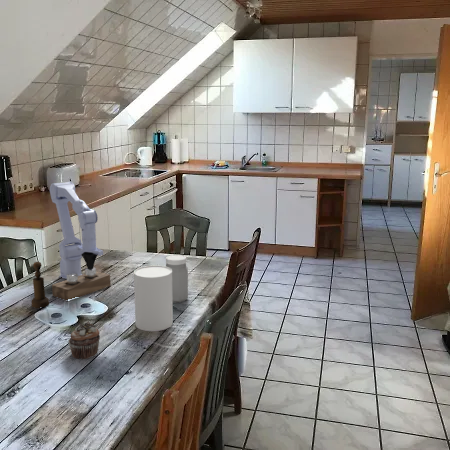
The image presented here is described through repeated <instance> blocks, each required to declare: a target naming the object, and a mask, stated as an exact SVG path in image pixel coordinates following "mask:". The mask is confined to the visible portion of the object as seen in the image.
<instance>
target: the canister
mask: <svg viewBox="0 0 450 450" xmlns="http://www.w3.org/2000/svg"><path fill="white" fill-rule="evenodd" d="M133 286H134V287H133V288H134V315H135V318H134V319H135V326H136V328H137V329H139V330H141V331H146V332H159V331H163V330H167V329H168V328H170V327H171V326H173V323H174V321H173V319H174V317H173V313H174V312H173V310H174V309H173V303H172V269H170V268H169V267H166V265H158V264H157V265H156V264H155V265H146V266H145V265H144V266H140V267H138V268H135V270H134V271H133Z"/></svg>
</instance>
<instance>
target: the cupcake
mask: <svg viewBox="0 0 450 450" xmlns="http://www.w3.org/2000/svg"><path fill="white" fill-rule="evenodd" d="M100 338H101V336H100V330H98V329H97V328H96V326H95V325H94V324H93V323H91V321H86V323H84V324H82V323H79V325H77V327H75V328H74V330H73V331H72V332H71V334H70V338H69V339H68V345H69V348H70V349H69V350H70V352H71V356H72V357H73V358H74V359H77V360H87V359H90V358H92V357H95V356H96V355H97V354H98V351H99V345H100Z"/></svg>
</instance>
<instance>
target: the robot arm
mask: <svg viewBox="0 0 450 450" xmlns="http://www.w3.org/2000/svg"><path fill="white" fill-rule="evenodd" d="M49 193H50V198H51V202H52V203H53V204H55V208H56V210H57V215H58V219H59V223H60V227H61V233H62V235H63V236H62V237H63V239H62V240H61V241H60V242H59V244H58V248H59V251H58V252H59V257H60V258H61V259H60V261H59V272H60V273H59V274H60V275H58V277H59V278H61V277H62V279H65V280H67V274H71V273H76V274H78V276H80V275H83V274H84V273H83V274H82V263H81V262H82V259H83V260H84V262H85V264H86V265H85V266H86V267H87V268H88V269H93V267H94V268H95V262H96V259H97V257H98V256H99V257H101V256H104V250H102V249H100V248H98V247H97V237H96V236H97V235H96V234H97V231H96V223H98V214H97V212H96V209H92V208H90V207H89V206H88V204H87V203H86V202H85V201H84V200H82V199H80V198H79V196H78V194H77V192H76V186H75V184H74V182H73V181H66V182H56V183H55V182H53V183H51V184H50V186H49ZM69 202H70V203H71V205H72V207H71V208H72V210H73V211H74V213H75V214H76V215H77V216H78V218H77V220H78V223H79V228H80V229H81V239H80V238H78V237H77V236H75V232H74V228H73V223H72V219H71V214H70V210H69V206H68V203H69Z"/></svg>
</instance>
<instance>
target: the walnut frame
mask: <svg viewBox="0 0 450 450" xmlns="http://www.w3.org/2000/svg"><path fill="white" fill-rule="evenodd" d="M111 284H112V283H111V274H109V273H105V272H100V271H97V270H96V277H95V278H93V279H88V278H86V273H83V275H80V276H78V284H76V285H73V286H71V285H67V279H65V280H63V281H60V282H57V283H54V284H52V285H51V287H52V289H51V291H52V297H53V296H55V297H54V298H56V297H58V298H57V299H59V298H61V300H63V299H64V300H63V301H66V300H68V299H72V298H75V297H79V298H82V297H84V296H87V295H89V294H92V293H95V292H97V291H100V290H102V289H105V288H109V287H111Z"/></svg>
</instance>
